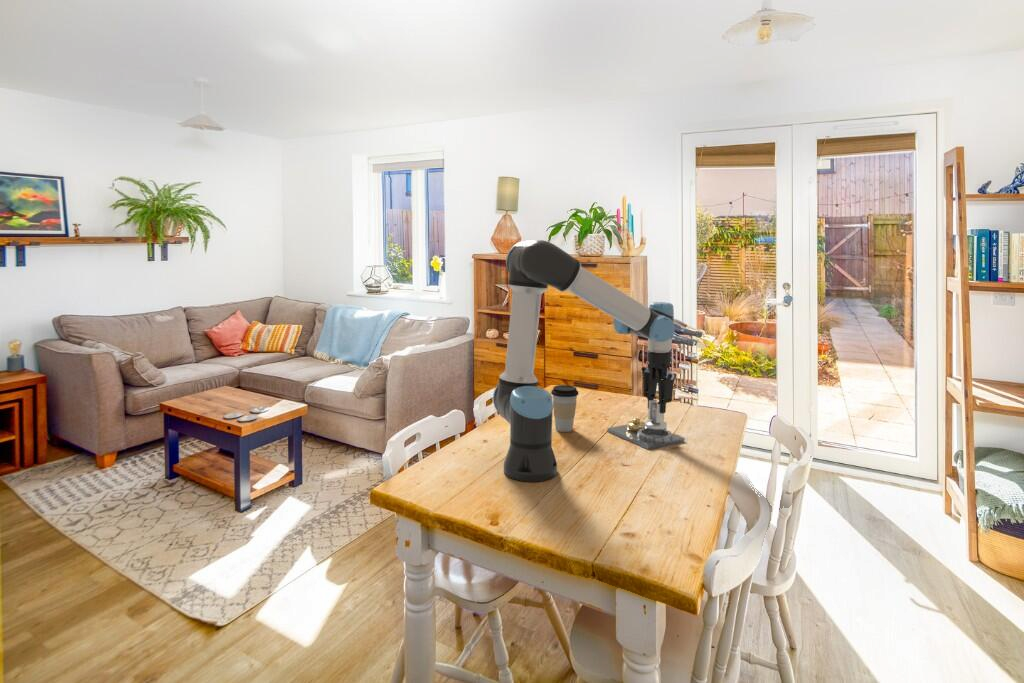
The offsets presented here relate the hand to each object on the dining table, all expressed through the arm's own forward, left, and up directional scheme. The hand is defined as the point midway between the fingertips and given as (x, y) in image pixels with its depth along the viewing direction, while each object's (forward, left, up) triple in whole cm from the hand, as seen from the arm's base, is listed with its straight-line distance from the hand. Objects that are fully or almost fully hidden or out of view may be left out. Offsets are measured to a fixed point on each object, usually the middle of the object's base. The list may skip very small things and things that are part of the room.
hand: (655, 420), depth 186 cm
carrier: (0, +5, -7) cm, 8 cm away
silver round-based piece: (0, 0, -2) cm, 2 cm away
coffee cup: (-20, +24, -7) cm, 32 cm away
